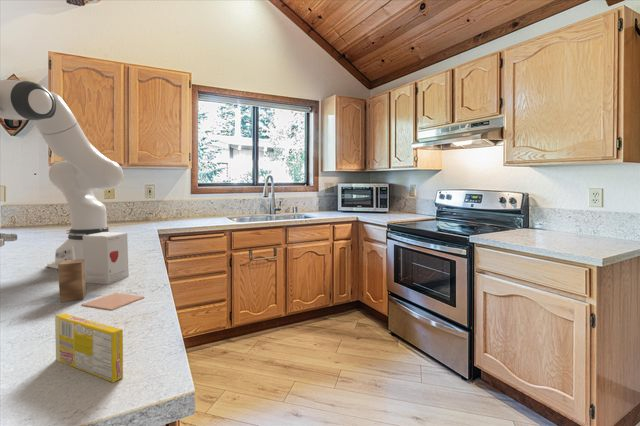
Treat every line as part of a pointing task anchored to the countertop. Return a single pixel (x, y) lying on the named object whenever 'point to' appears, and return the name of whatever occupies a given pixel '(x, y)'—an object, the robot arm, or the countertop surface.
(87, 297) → the grey square tile
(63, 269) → the walnut block
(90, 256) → the supplement box
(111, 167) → the robot arm
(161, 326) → the countertop surface
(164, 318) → the countertop surface
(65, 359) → the candy box
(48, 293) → the countertop surface
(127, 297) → the pad
